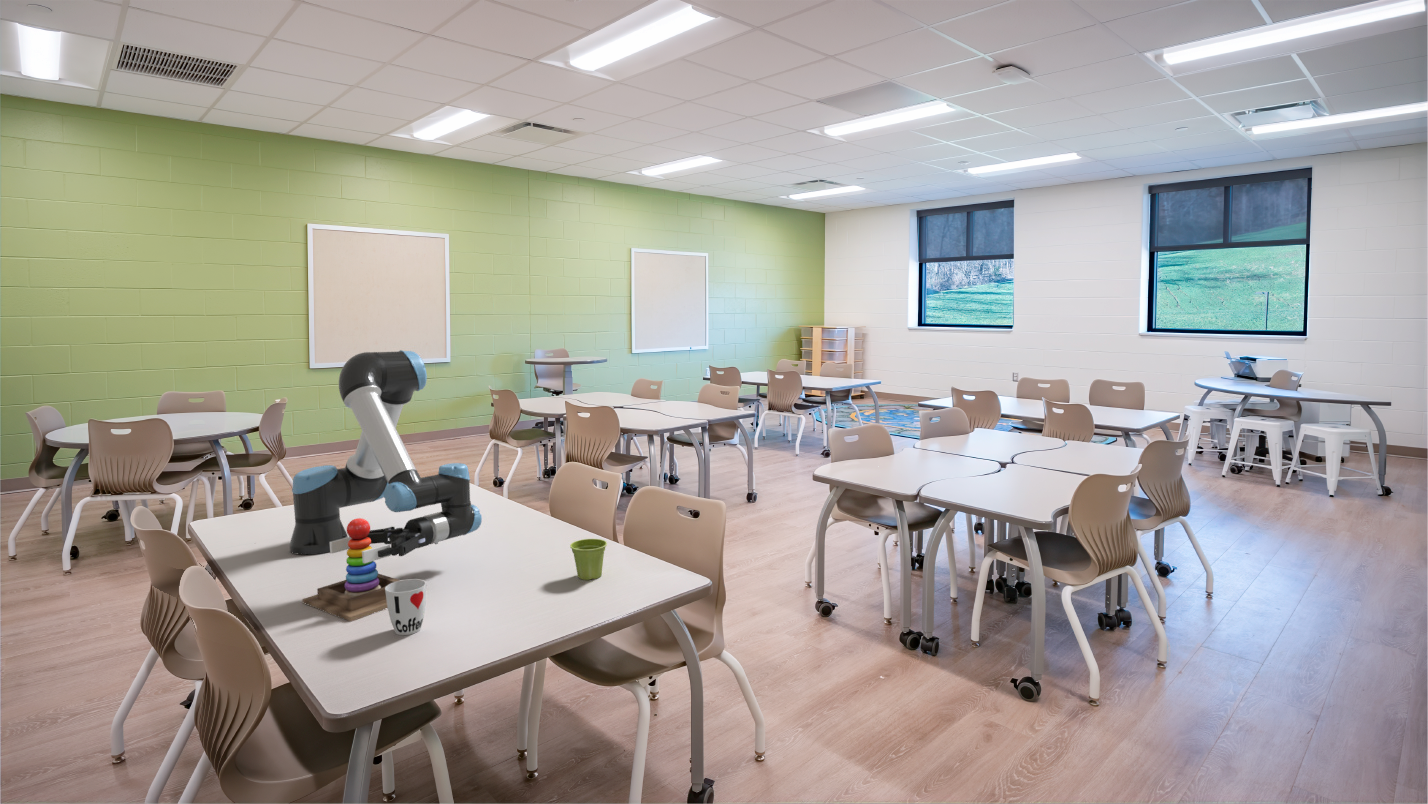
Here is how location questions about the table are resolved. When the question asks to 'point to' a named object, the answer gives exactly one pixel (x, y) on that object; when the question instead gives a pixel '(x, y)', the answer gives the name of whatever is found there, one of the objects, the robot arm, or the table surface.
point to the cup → (406, 605)
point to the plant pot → (589, 557)
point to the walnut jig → (350, 600)
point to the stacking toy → (359, 561)
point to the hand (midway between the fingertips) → (346, 552)
